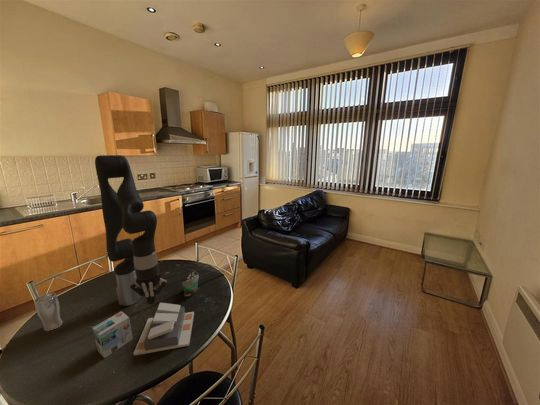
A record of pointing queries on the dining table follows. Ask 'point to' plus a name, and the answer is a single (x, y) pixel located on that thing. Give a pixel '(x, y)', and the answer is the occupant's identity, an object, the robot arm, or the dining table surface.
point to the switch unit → (166, 335)
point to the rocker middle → (165, 317)
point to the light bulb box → (112, 334)
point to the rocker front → (161, 329)
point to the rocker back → (168, 308)
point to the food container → (191, 284)
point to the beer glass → (48, 311)
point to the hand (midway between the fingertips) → (152, 303)
